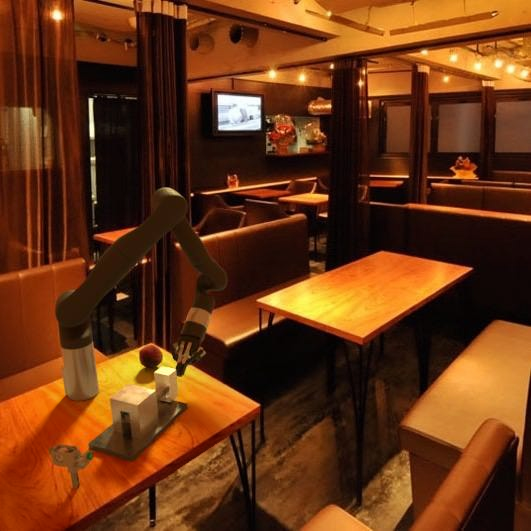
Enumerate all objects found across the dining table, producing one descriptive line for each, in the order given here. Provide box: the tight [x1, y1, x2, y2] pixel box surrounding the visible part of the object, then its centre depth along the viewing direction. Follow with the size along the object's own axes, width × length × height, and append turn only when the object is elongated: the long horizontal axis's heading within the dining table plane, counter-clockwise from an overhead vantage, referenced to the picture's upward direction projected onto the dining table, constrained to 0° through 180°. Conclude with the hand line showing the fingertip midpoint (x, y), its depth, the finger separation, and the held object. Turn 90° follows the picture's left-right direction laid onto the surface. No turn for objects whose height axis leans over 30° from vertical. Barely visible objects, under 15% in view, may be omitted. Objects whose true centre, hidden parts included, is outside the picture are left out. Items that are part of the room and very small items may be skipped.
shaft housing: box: [87, 383, 189, 463], centre depth 137 cm, size 14×26×12 cm, turn 157°
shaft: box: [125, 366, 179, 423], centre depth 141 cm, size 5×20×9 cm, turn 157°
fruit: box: [138, 344, 164, 370], centre depth 171 cm, size 8×8×8 cm
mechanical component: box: [48, 443, 94, 489], centre depth 115 cm, size 3×10×10 cm, turn 78°
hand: (178, 376), depth 154 cm, fingers closed
